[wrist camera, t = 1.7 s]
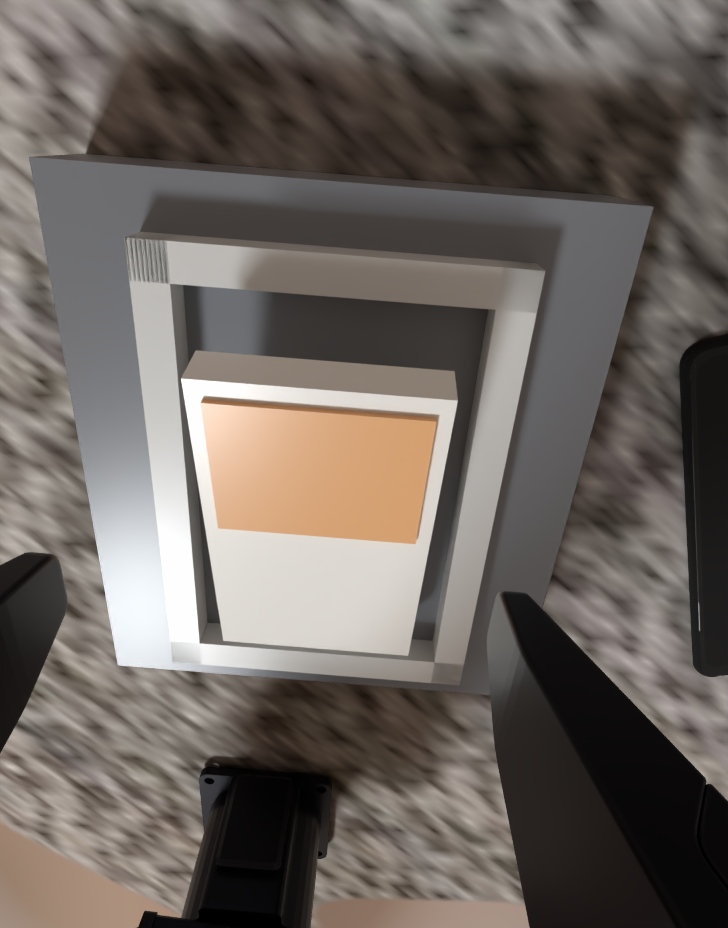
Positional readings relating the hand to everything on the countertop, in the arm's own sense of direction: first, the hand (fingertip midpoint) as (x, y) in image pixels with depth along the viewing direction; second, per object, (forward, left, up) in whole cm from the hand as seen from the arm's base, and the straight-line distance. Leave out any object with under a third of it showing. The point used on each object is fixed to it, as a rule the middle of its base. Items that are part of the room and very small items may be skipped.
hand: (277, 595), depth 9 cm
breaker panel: (-4, 0, -12) cm, 13 cm away
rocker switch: (-4, 0, -8) cm, 8 cm away
